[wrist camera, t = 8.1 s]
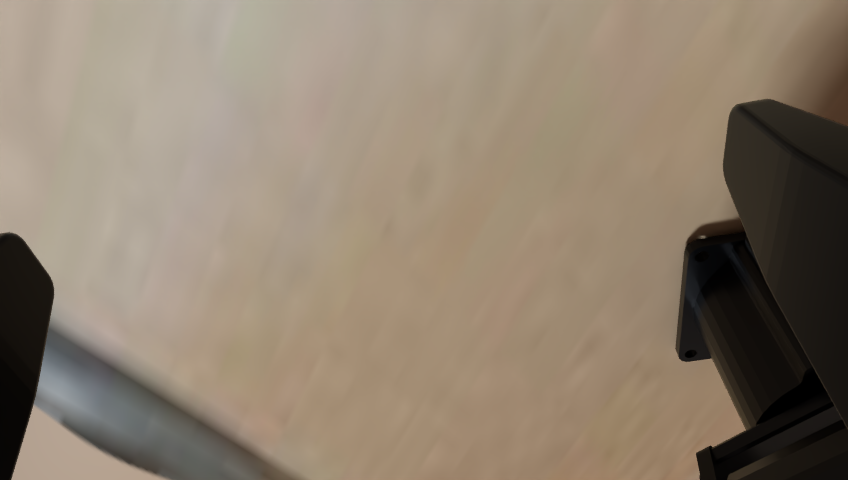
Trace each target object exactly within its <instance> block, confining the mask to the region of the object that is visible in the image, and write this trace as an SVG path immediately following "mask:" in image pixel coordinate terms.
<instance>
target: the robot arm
mask: <svg viewBox="0 0 848 480" xmlns="http://www.w3.org/2000/svg"><path fill="white" fill-rule="evenodd" d="M723 172H724V178H725V181H726V184H727V187H728V189H729V192H730V194H731V197H732V199H733V202H734V204H735V207H736V209H737V212H738V214H739V217H740V219H741V222H742V224H743V227H744V229H745V232H742V233H736V234H729V235H723V236H717V237H711V238H705V239H699V240H696V241H693V242H692V243H690V244H689V245H688V246H687V247H686V249H685V252H684V262H683V273H682V284H681V295H680V306H679V316H678V327H677V338H676V352H677V354H678V357H679V359H680V360H682V361H685V362H690V361H697V360H704V359H710V358H712V360H713V362H714V364H715V366H716V368H717V370H718V372H719V374H720V376H721V379H722V381H723V383H724V385H725V387H726V389H727V391H728V393H729V395H730V397H731V400H732V402H733V404H734V406H735V408H736V410H737V412H738V414H739V416H740V418H741V421H742V423H743V425H744V427H745V429H746V431H744V432H742V433H740V434H738V435H736V436H734V437H732V438H730V439H728V440H726V441H724V442H722V443H720V444H718V445H717V446H715V447H712V446H709V447H707V448H705V449H703V450H701V451H699V452H697V453H696V456H697V461H698V466H699V471H700V480H848V126H845V125H843V124H840V123H837V122H834V121H831V120H829V119H826V118H823V117H820V116H817V115H814V114H812V113H809V112H806V111H803V110H800V109H797V108H795V107H792V106H789V105H786V104H783V103H780V102H778V101H775V100H772V99H763V100H757V101H752V102H746V103H741V104H737V105H736V106H734V107H733V108H732V110H731V112H730V115H729V119H728V127H727V135H726V143H725V151H724V159H723ZM702 251H704V252H702ZM700 252H702V253H701V254H698V253H700ZM697 254H698V255H697ZM53 299H54V286H53V282H52V280H51V277H50V276H49V274H48V273H47V271H46V270H45V269H44V267H43V266H42V265H41V263H40V262H39V260H38V259H37V258H36V256H35V255H34V254H33V252H32V251H31V249H30V248H29V247H28V245H27V244H26V242H25V241H24V240H23V239H22V238H21V237H20V236H18V235H17V234H14V233H10V232H8V233H1V234H0V480H11V478H12V475H13V472H14V469H15V465H16V462H17V458H18V455H19V452H20V448H21V445H22V442H23V438H24V435H25V432H26V428H27V425H28V422H29V418H30V415H31V411H32V408H33V404H34V400H35V396H36V392H37V387H38V382H39V377H40V372H41V366H42V360H43V355H44V349H45V344H46V338H47V333H48V327H49V321H50V316H51V310H52V305H53Z"/></svg>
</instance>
